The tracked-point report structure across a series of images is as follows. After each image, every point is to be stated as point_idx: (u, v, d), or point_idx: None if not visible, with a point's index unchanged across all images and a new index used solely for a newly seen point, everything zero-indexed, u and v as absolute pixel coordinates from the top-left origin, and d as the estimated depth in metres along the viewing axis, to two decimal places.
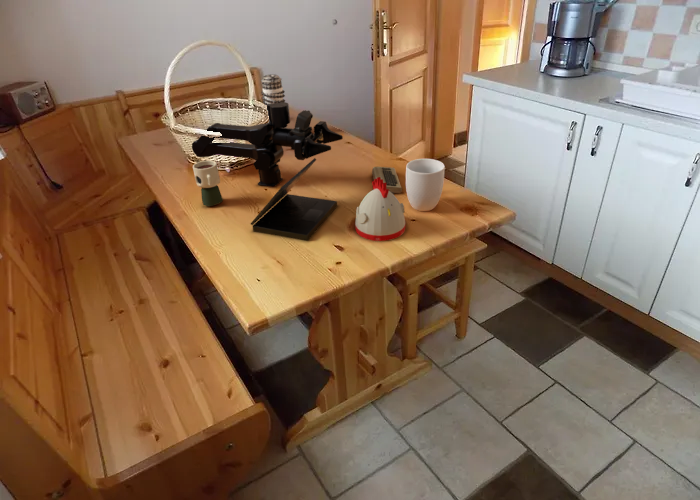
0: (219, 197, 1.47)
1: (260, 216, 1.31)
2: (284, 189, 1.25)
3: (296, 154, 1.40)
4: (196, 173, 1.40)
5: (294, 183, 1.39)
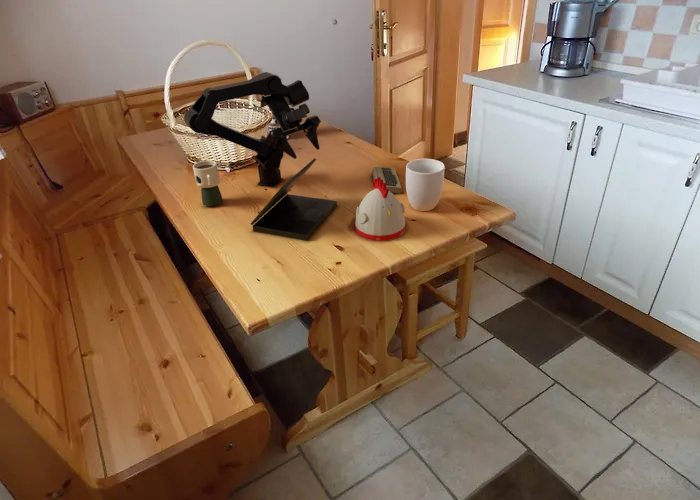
0: (219, 197, 1.47)
1: (260, 216, 1.31)
2: (284, 189, 1.25)
3: (266, 139, 1.45)
4: (196, 173, 1.40)
5: (294, 183, 1.39)
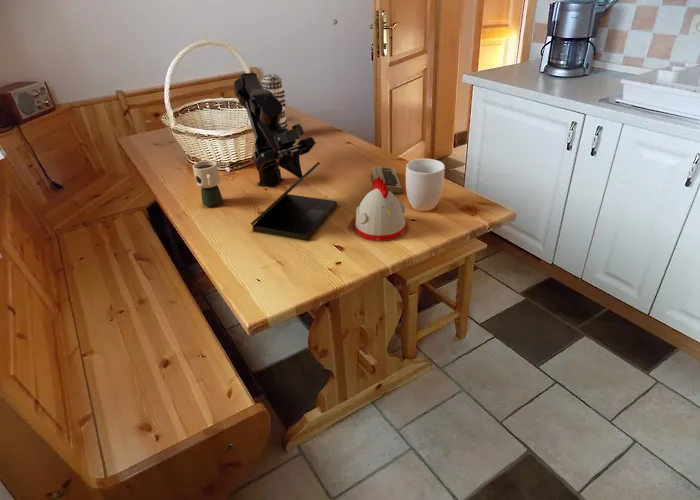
0: (219, 197, 1.47)
1: (261, 217, 1.31)
2: None
3: (257, 162, 1.34)
4: (196, 173, 1.40)
5: None
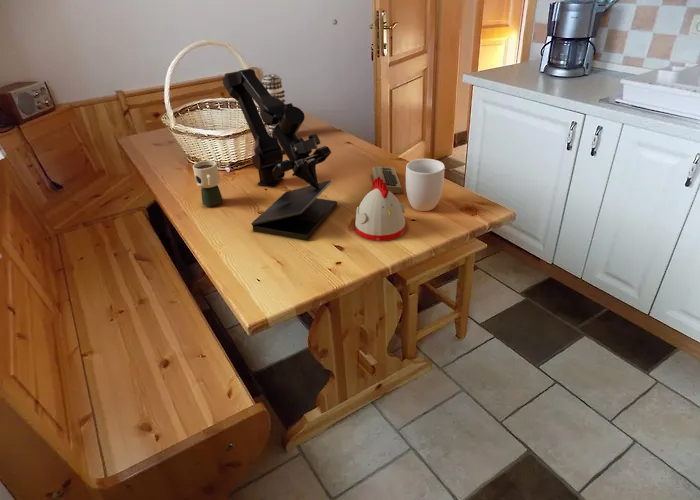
0: (219, 197, 1.47)
1: None
2: None
3: (273, 172, 1.34)
4: (196, 173, 1.40)
5: None
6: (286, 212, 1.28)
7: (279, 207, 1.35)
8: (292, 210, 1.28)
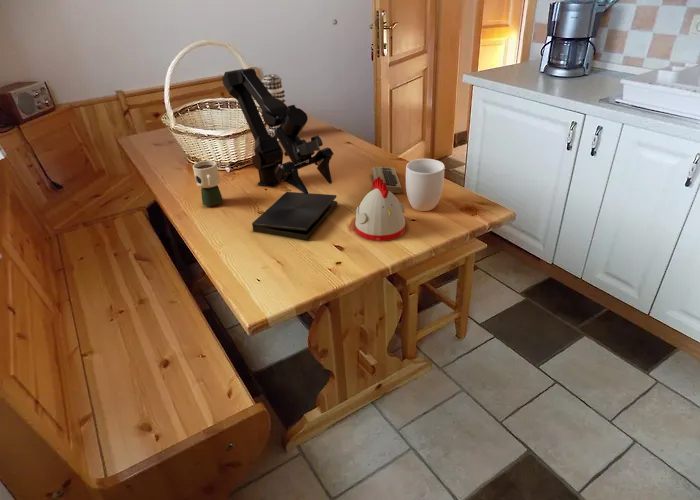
0: (219, 197, 1.47)
1: None
2: None
3: (276, 173, 1.34)
4: (196, 173, 1.40)
5: None
6: (291, 222, 1.29)
7: (281, 212, 1.36)
8: (296, 222, 1.29)
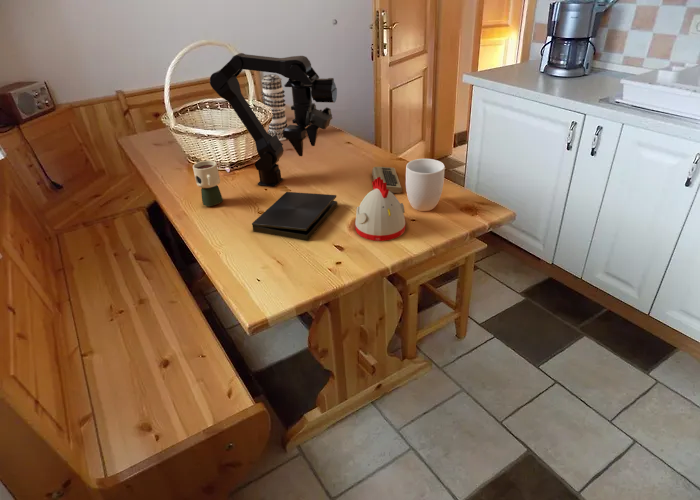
0: (219, 197, 1.47)
1: None
2: None
3: (287, 132, 1.39)
4: (196, 173, 1.40)
5: None
6: (291, 222, 1.29)
7: (281, 212, 1.36)
8: (296, 222, 1.29)
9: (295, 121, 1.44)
